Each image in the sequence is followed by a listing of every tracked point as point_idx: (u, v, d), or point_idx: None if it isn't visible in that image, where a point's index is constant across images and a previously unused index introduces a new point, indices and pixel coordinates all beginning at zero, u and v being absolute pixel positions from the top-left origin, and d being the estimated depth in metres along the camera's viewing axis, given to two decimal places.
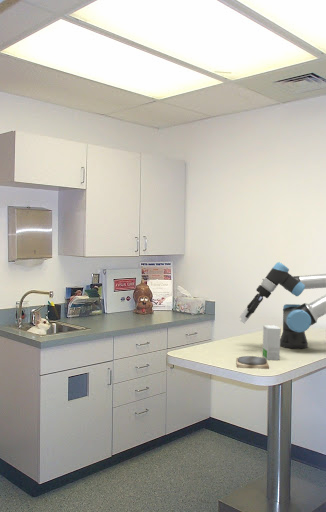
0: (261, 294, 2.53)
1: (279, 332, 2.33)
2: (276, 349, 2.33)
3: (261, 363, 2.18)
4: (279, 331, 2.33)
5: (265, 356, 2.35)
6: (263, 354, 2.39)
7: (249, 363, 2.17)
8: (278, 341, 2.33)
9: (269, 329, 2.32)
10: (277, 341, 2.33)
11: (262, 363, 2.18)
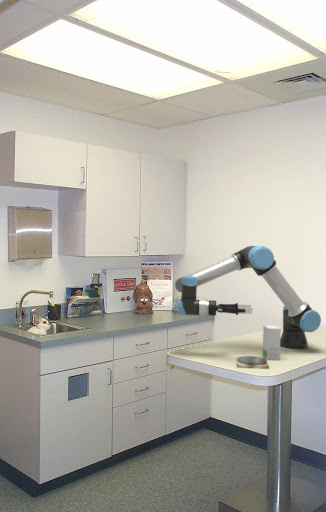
0: (215, 309, 2.36)
1: (279, 332, 2.33)
2: (276, 349, 2.33)
3: (261, 363, 2.18)
4: (279, 331, 2.33)
5: (265, 356, 2.35)
6: (263, 354, 2.39)
7: (249, 363, 2.17)
8: (278, 341, 2.33)
9: (269, 329, 2.32)
10: (277, 341, 2.33)
11: (262, 363, 2.18)
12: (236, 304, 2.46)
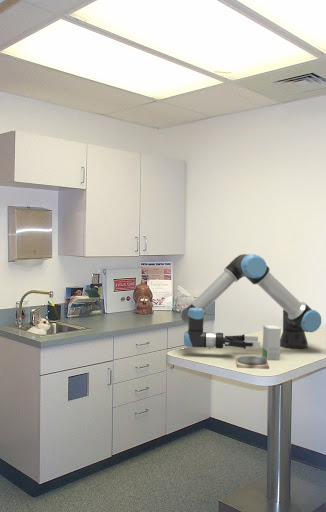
0: (222, 342, 2.36)
1: (279, 332, 2.33)
2: (276, 349, 2.33)
3: (261, 363, 2.18)
4: (279, 331, 2.33)
5: (265, 356, 2.35)
6: (263, 354, 2.39)
7: (249, 363, 2.17)
8: (278, 341, 2.33)
9: (269, 329, 2.32)
10: (277, 341, 2.33)
11: (262, 363, 2.18)
12: (243, 336, 2.46)
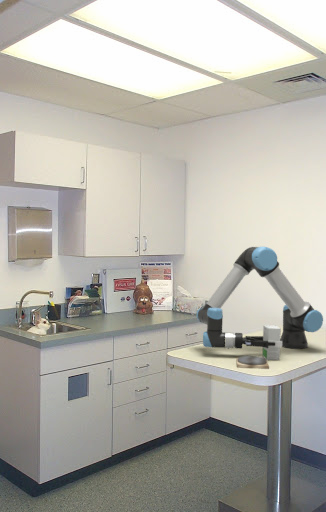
0: (242, 343, 2.35)
1: (279, 332, 2.33)
2: (276, 349, 2.33)
3: (261, 363, 2.18)
4: (279, 331, 2.33)
5: (265, 356, 2.35)
6: (263, 354, 2.39)
7: (249, 363, 2.17)
8: None
9: (269, 329, 2.32)
10: None
11: (262, 363, 2.18)
12: None
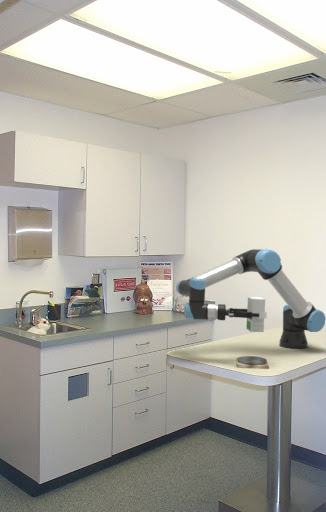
0: (225, 314, 2.25)
1: (263, 303, 2.23)
2: (260, 320, 2.23)
3: (261, 363, 2.18)
4: (263, 302, 2.23)
5: (249, 328, 2.25)
6: (247, 326, 2.29)
7: (249, 363, 2.17)
8: None
9: (253, 300, 2.22)
10: None
11: (262, 363, 2.18)
12: None
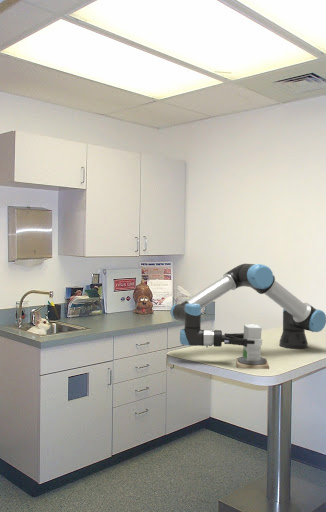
0: (221, 340, 2.21)
1: (260, 331, 2.19)
2: (256, 349, 2.19)
3: (261, 363, 2.18)
4: (260, 330, 2.19)
5: (245, 357, 2.22)
6: (243, 355, 2.25)
7: (249, 363, 2.17)
8: None
9: (249, 328, 2.19)
10: None
11: (262, 363, 2.18)
12: None
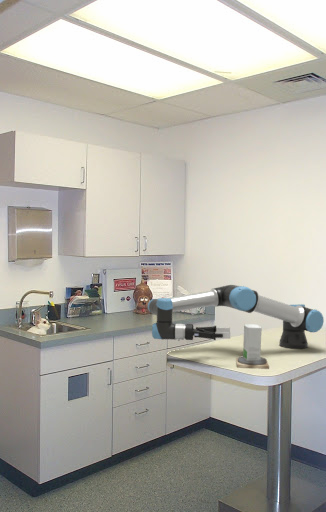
0: (192, 334, 2.25)
1: (260, 332, 2.19)
2: (256, 349, 2.19)
3: (261, 363, 2.18)
4: (260, 330, 2.19)
5: (245, 357, 2.22)
6: (243, 355, 2.25)
7: (249, 363, 2.17)
8: (259, 341, 2.19)
9: (249, 328, 2.19)
10: (258, 341, 2.19)
11: (262, 363, 2.18)
12: (214, 327, 2.35)
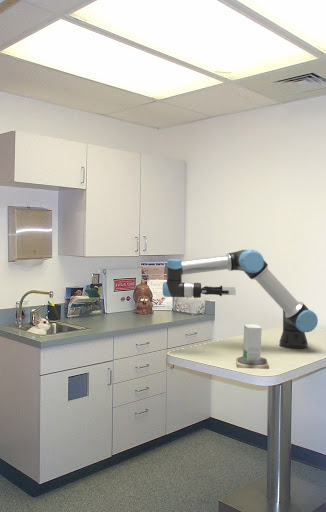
0: (200, 291, 2.42)
1: (260, 332, 2.19)
2: (256, 349, 2.19)
3: (261, 363, 2.18)
4: (260, 330, 2.19)
5: (245, 357, 2.22)
6: (243, 355, 2.25)
7: (249, 363, 2.17)
8: (259, 341, 2.19)
9: (249, 328, 2.19)
10: (258, 341, 2.19)
11: (262, 363, 2.18)
12: (221, 287, 2.52)
